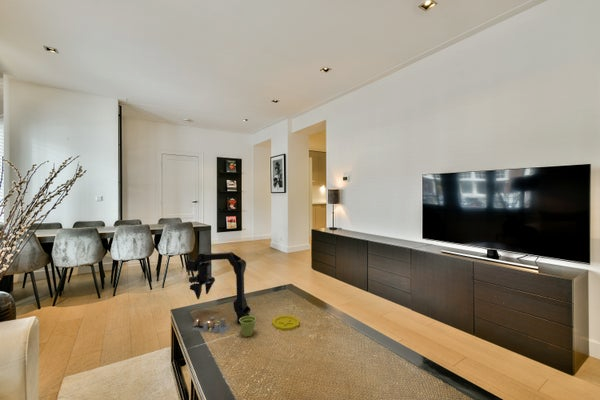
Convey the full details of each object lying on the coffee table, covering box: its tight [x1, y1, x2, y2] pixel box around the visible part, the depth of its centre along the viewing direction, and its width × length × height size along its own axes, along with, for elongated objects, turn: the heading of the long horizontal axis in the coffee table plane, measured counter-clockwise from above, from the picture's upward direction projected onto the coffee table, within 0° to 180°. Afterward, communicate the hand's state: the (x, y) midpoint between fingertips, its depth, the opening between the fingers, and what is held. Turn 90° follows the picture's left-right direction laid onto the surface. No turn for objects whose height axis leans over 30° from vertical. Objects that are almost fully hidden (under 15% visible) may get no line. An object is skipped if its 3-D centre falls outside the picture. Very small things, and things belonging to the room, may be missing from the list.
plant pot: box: [239, 315, 257, 338], centre depth 153 cm, size 9×9×9 cm
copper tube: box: [193, 318, 216, 329], centre depth 158 cm, size 12×4×4 cm, turn 77°
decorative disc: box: [271, 314, 301, 332], centre depth 167 cm, size 17×18×2 cm
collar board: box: [192, 316, 232, 335], centre depth 157 cm, size 20×10×6 cm, turn 77°
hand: (202, 296), depth 171 cm, fingers open, 9 cm apart
